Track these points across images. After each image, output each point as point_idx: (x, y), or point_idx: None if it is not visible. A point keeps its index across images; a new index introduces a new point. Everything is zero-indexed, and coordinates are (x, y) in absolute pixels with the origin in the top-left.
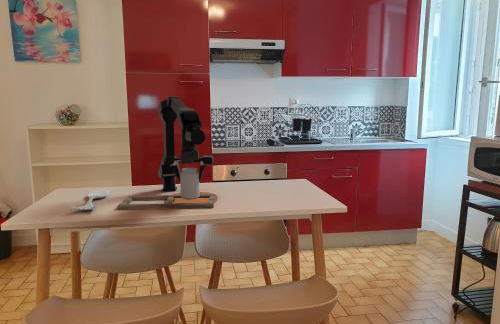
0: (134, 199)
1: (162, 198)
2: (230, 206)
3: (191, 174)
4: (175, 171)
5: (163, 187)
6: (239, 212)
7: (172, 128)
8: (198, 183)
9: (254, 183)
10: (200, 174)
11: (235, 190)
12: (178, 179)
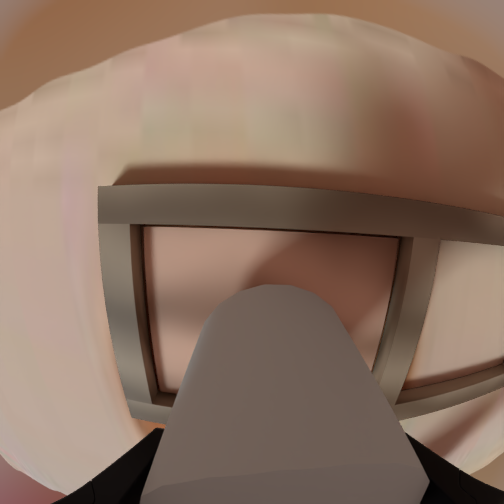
0: (500, 367)
1: (418, 392)
2: (38, 217)
3: (245, 475)
4: (485, 484)
5: None
6: (18, 108)
7: None
8: (174, 402)
9: None
10: (115, 482)
11: (97, 465)
12: (413, 438)
